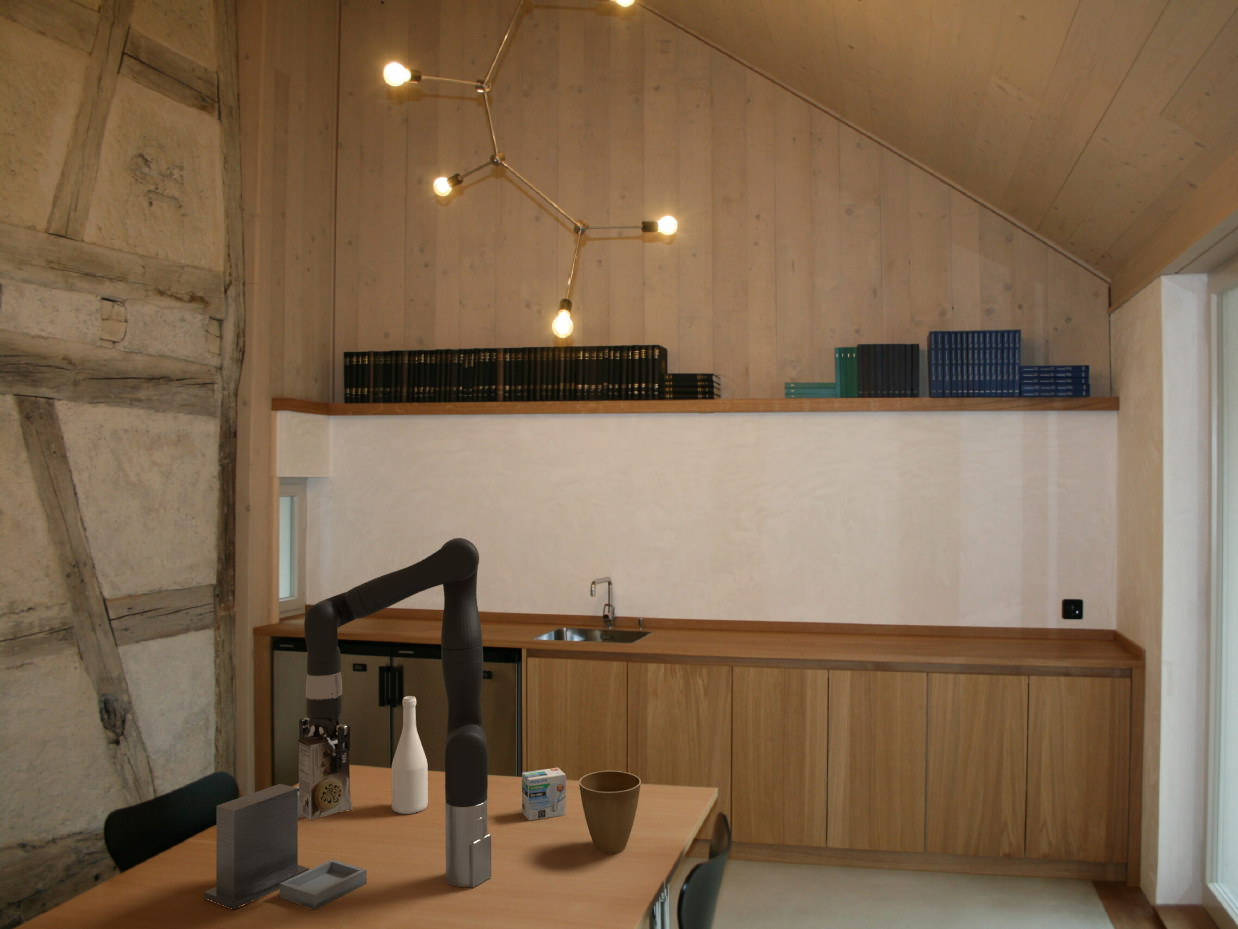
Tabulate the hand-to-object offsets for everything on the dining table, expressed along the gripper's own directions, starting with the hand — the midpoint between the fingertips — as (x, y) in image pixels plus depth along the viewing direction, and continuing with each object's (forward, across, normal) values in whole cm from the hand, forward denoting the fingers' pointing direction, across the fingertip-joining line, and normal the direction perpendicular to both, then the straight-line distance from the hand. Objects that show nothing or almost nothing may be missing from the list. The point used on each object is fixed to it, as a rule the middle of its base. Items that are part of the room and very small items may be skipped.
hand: (324, 769), depth 190 cm
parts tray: (+26, 0, 0) cm, 26 cm away
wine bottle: (+26, -19, +44) cm, 55 cm away
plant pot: (+26, +42, +50) cm, 70 cm away
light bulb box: (+26, +14, +60) cm, 67 cm away
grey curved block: (+26, -38, +30) cm, 55 cm away
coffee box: (+9, 0, 0) cm, 9 cm away
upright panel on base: (+26, -14, -7) cm, 30 cm away
